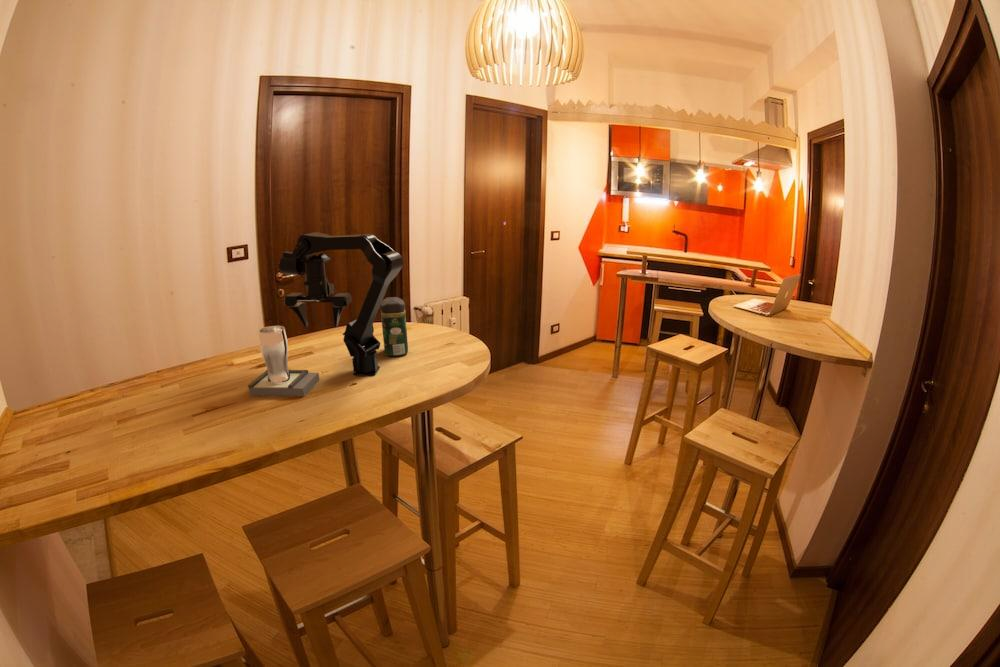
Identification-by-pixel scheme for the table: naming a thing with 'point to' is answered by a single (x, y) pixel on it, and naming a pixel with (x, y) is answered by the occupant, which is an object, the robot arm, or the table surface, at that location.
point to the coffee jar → (394, 326)
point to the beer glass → (275, 353)
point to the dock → (284, 385)
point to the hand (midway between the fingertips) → (321, 326)
